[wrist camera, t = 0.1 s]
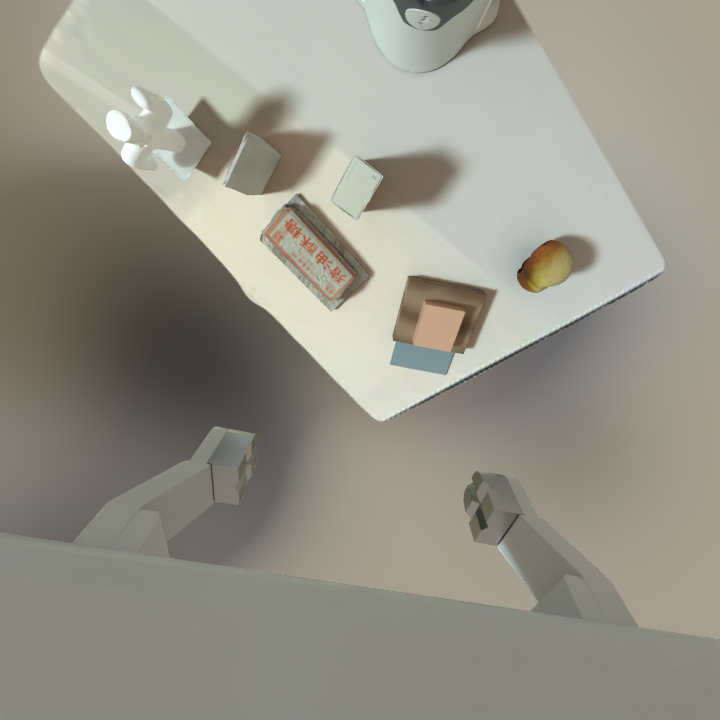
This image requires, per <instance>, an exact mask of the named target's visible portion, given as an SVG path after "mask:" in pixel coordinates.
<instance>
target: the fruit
mask: <svg viewBox="0 0 720 720" xmlns="http://www.w3.org/2000/svg"><path fill="white" fill-rule="evenodd" d="M572 268H573V258H572V255H571V253H570V252H569V250H568V249H567V247H566V246H565V245H563V244H562V243H560V242H557V241H553V240H550V241H547V242H545V243H544V244H542V245H541V246H540V247H538V248H537V249H536V250H535V251H534V252H533V253H532V255H531V257H530V258H528V259H527V260H526V261H524V263H523V264H522V267H521V269H519V270H518V272H517V279H518V282H519V283H520V285H521V286H522V287H523V288H524V289H525V290H527V291H529V292H533V293H538V292H541V291H543V290H544V289H546V288H548V287H551V286H555V285H558V284H560V283H563V282H564V281H565V280H567V278H568V277H569V275H570V274H571V271H572Z"/></svg>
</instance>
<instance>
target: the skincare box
mask: <svg viewBox="0 0 720 720" xmlns="http://www.w3.org/2000/svg"><path fill="white" fill-rule="evenodd" d="M382 179H383V175H382V174H380V173H379V172H378V171H377V170H376V169H374V168H373V167H372V166H371V165H369V164H368V163H367V162H365V161H364V160H363V159H361V158H360V157H359V156H357V155H355V156H354V157H353V159H352V161H351V162H350V164H349V166H348V167H347V169H346V171H345V173H344V175H343V177H342V178H341V180H340V182H339V184H338V186H337V188H336V190H335V192H334V194H333V196H332V198H331V202H332V203H334V204H335V205H336V206H338V207H339V208H340V209H341V210H343V211H344V212H345V213H347V214H348V215H349V216H351V217H352V218H354V219H355V220H358V219H359V217H360V215H361V214H362V212H363V211H364V209H365V208H366V206H367V204H368V203H369V201H370V199H371V198H372V196H373V194H374V192H375V191H376V189H377V187H378V186H379V184H380V182H381V180H382Z"/></svg>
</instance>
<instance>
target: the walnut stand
mask: <svg viewBox="0 0 720 720" xmlns="http://www.w3.org/2000/svg"><path fill="white" fill-rule="evenodd" d="M486 296H487V295H486V294H485V293H484V292H483V291H480V290H475V289H470V288H465V287H460V286H455V285H450V284H445V283H440V282H435V281H430V280H425V279H420V278H415V277H410V276H408V279H407V282H406V286H405V290H404V294H403V298H402V302H401V305H400V309H399V313H398V317H397V321H396V325H395V328H394V332H393V341H397V342H403V343H408V344H413V340H412V339H413V336H414V332H415V329H416V325H417V322H418V319H419V315H420V312H421V309H422V305H423V302H424V300H428V301H433V302H438V303H443V304H448V305H453V306H458V307H462V308H463V309H464V311H465V315H464V317H463V320H462V323H461V325H460V328H459V331H458V333H457V336H456V339H455V341H454V344H453V347H452V349H451V352H455V353H461V354H464V351H465V349H466V346H467V344H468V341H469V339H470V336H471V334H472V331H473V329H474V326H475V324H476V321H477V319H478V316H479V314H480V311H481V309H482V306H483V304H484V301H485V299H486ZM413 345H414V344H413Z"/></svg>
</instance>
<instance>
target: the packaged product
mask: <svg viewBox="0 0 720 720" xmlns="http://www.w3.org/2000/svg"><path fill="white" fill-rule="evenodd" d="M260 241H261V242H262V243H264V244H265V245H266V246H267V247H268V248H269V249H270V250H271V252H273V253H274V254H275V255H276V256H277V257H278V258H279V259H280V260H281V261H282V262H283V264H284V265H286V266H287V268H289V269H290V271H291V272H292V273H293V274H294V275H295V276H297V278H298V279H299V280H300V281H301V282H302V283H303V284H304V285H305V286H306V287H307V288H308V289H310V291H311V292H312V293H313V294H314V295H315V296H316V297H317V298H318V299H319V300H320V301H321V302H322V303H323V304H324V305H325V306H326V307H327V308H328V309H329V310H330V311H331V312H332V311H333V310H334V309H335V308H336V307H337V306H338V305H339V304H340V303H341V302H343V301H344V300H345V299H346V298H347V297H348V296H349V295H350V294H351V293H352V292H354V291H355V290H356V289H357V288H358V287H359V286H360V285H361V284H362V283H363V282H364V281H365V280H366V279H367V278H368V277H369V275H368V274H367V273H366V271H365V270H364V269H363V268H362V267H361V265H360V264H359V263H358V262H357V261H356V259H355V258H354V257H353V256H352V255H351V254H350V253H349V252H348V251H347V250H346V249H345V248H344V247H343V246H342V244H341V243H340V242H339V241H338V240H337V239H336V238H335V236H334V235H333V234H332V233H331V231H330V230H329V229H328V228H327V227H326V226H325V225H324V224H323V223H322V222H321V221H320V220H319V218H318V217H317V216H316V215H315V214H314V212H313V211H312V210H311V209H310V208H309V207H308V206H307V205H306V204H305V203H304V202H303V201H302V200H301V199H300V197H299V196H298V195H297V194H295V195H294V197H293V198H292V199H291V200H290V201H289V202H288V203H287V204H285V205H284V206H283V207H282V208H281V209H280V210H278V211H277V213H276V214H275V215H274V217H273V218H272V220H271V222H270V223H269V224H268V225H267V227H266V228H265V229H264V230H263V231H262V234H261V238H260Z"/></svg>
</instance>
